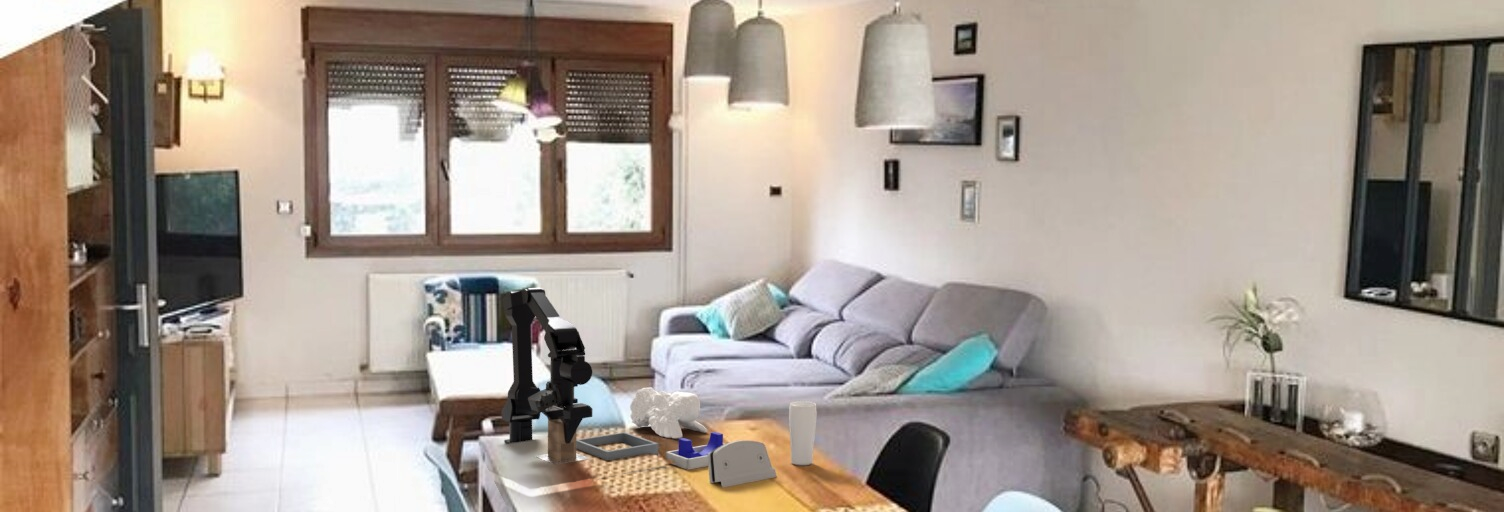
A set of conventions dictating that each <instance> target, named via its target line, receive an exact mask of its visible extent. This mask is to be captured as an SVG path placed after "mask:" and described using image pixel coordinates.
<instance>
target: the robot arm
mask: <svg viewBox="0 0 1504 512" xmlns="http://www.w3.org/2000/svg"><path fill="white" fill-rule="evenodd" d="M502 307H503V309H504V310H503V311H504V316H505V317H506V318H505V319H506V320H507V321H508V322H509V324H510V325H511V341H512V344H511V345H512V367H513V368H512V369H513V370H512V371H513V382H512V384H511V386H510V388H509V390H508V392H507V399H506V402H505V403H504V406H503V407H502V410H501V413H500V414H501V419H502V420H503V421H504V422H507V423H509V438H508V439H504V440H503V441H504V443H506V444H514V443H515V444H516V443H521V442H527V441H534V439H533V421H534V420H540V417H541V413H542V414H543V415H544V416H545V417H546V418H547V421H548V420H554V419H560V420H561V421H562V422H563V424H564V435H565V442H566V443H570V442H571V440H572V438H573V436H574V434H575V432H576V433H577V430H578V428H579V426H580V424H581V422H582V421H583V419H587V418H592V417H593V408H592V407H591V405H589V404H586V403H581V402H580V403H578V398H576V397H575V388H576V387H577V388H578V385H580V386H581V385H585V384H587V383H589V382H590V380H591V378H592V376H593V369H592V366H591V364H590V363H589V362H588V361H587V360H586V358H585V356H586V351H585V349H586V347H585V345H584V343H583V341H582V338H581V335H580V333H579V331H578V329H577V328H576V326H574V325H573V324H572V323H571V322H570V321H568V320H565V319H564V318H562V317H561V316H560V314H559V313H558V311H557V310H556V309H555V307H554V306H553V304H552V302H551V301H550V300H549V298H548V297H547V296H546V291H545V289H544V288H542V287H528V288H525V289H522V290H515V291H514V290H511V291H510V290H509V291H507V293H506V295H504V296H503V298H502ZM535 318H536V320H537V321H538V323H539V324H540V325H541V327H542V328H543V330H544V332H545V333H544V337H543V339H544V342H545V344H546V346H547V349H548V351H549V353H548V354H547V357H548V358H550V381H549V380H548V381H546V384H545V389H542V390H541V389H540V388H539V387H537V385H536V384H535V382H534V379H533V353H532V352H533V351H532V350H533V349H532V328H531V327H532V324H533V321H534V320H535Z"/></svg>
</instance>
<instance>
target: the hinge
mask: <svg viewBox="0 0 1504 512" xmlns="http://www.w3.org/2000/svg"><path fill="white" fill-rule="evenodd" d="M707 467H708V475H709V476H708V477H709V479H708V480H709V484H715V483H721V488H729V487H732V486H738V485H742V484H747V483H753V482H757V481H763V480H767V479H773V478H777V473H776V469H775V468H774V467H773V466H772V463H771V460H770V457H769V453H768V451H767V447H766V444H765V443H763V442H759V441H755V440H746V439H744V440H736V441H731V442H727V443H724V445H722V446H720V447H718V448H716V449H715V450H713V451H712V452H710V453H709V454H708V466H707Z"/></svg>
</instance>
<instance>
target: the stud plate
mask: <svg viewBox="0 0 1504 512" xmlns="http://www.w3.org/2000/svg"><path fill="white" fill-rule="evenodd" d="M533 457H534V458H538V459H540V460H542V461H545V462H547V463H550V464H552V465H562V464H567V463H574V462H579V461H584V460H585V461H586V460H591V458H590V457H588V456H585V455H582V454H580V453H577V452H576V458H573V459H567V460H561V461H558V460H555V459H552V458H550V457H548V453H542V454H539V455H534V456H533Z"/></svg>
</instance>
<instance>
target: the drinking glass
mask: <svg viewBox="0 0 1504 512" xmlns="http://www.w3.org/2000/svg"><path fill="white" fill-rule="evenodd" d="M788 407H789V409H788V425H789V440H790V442H789V443H790V462H791V463H792V464H793V465H795V466H801V467H802V466H809V465H812V463H813V461H814V459H813V456H814V455H813V454H814V448H815V447H814V446H815V436H816V427H817V418H818V417H817V415H818V414H817V413H818V412H817V403H816V402H814V401H806V400H798V401H797V400H795V401H791V402H790V403H789V406H788Z"/></svg>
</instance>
